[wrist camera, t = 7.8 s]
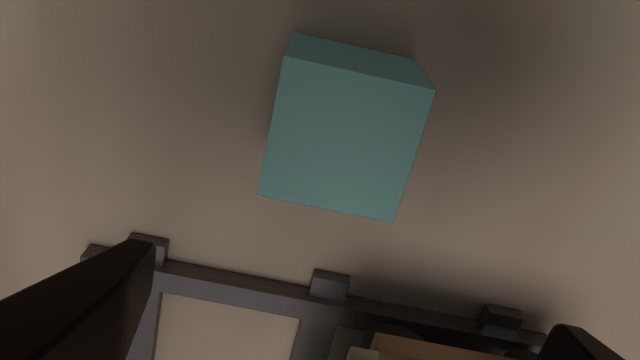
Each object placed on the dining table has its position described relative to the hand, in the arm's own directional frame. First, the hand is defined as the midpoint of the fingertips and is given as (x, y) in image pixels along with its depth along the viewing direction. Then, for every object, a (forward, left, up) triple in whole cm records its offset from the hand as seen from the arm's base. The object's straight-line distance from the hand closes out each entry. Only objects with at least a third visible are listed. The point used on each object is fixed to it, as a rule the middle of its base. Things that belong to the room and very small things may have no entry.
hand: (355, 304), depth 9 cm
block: (0, 0, -12) cm, 12 cm away
